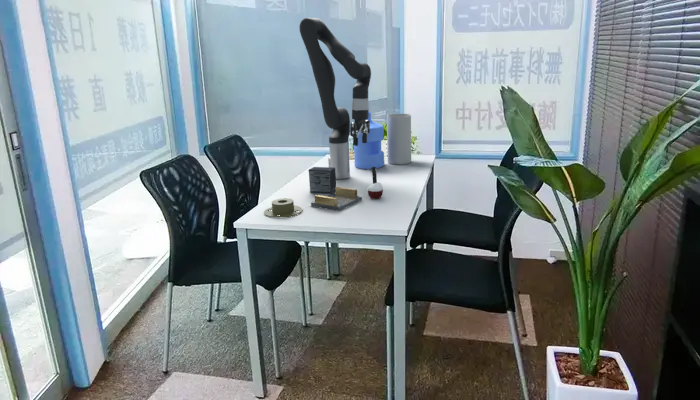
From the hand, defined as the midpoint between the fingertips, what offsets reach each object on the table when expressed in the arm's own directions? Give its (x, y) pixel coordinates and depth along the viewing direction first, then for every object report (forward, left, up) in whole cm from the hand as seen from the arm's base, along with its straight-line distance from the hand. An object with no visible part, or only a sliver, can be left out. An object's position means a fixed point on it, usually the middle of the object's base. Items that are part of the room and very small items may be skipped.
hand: (360, 144), depth 246 cm
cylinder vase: (-3, +41, -18) cm, 45 cm away
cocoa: (+21, -21, -18) cm, 34 cm away
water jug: (-13, +27, -18) cm, 35 cm away
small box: (-5, -23, -18) cm, 29 cm away
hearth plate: (+11, -35, -17) cm, 40 cm away
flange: (-1, -54, -18) cm, 57 cm away
